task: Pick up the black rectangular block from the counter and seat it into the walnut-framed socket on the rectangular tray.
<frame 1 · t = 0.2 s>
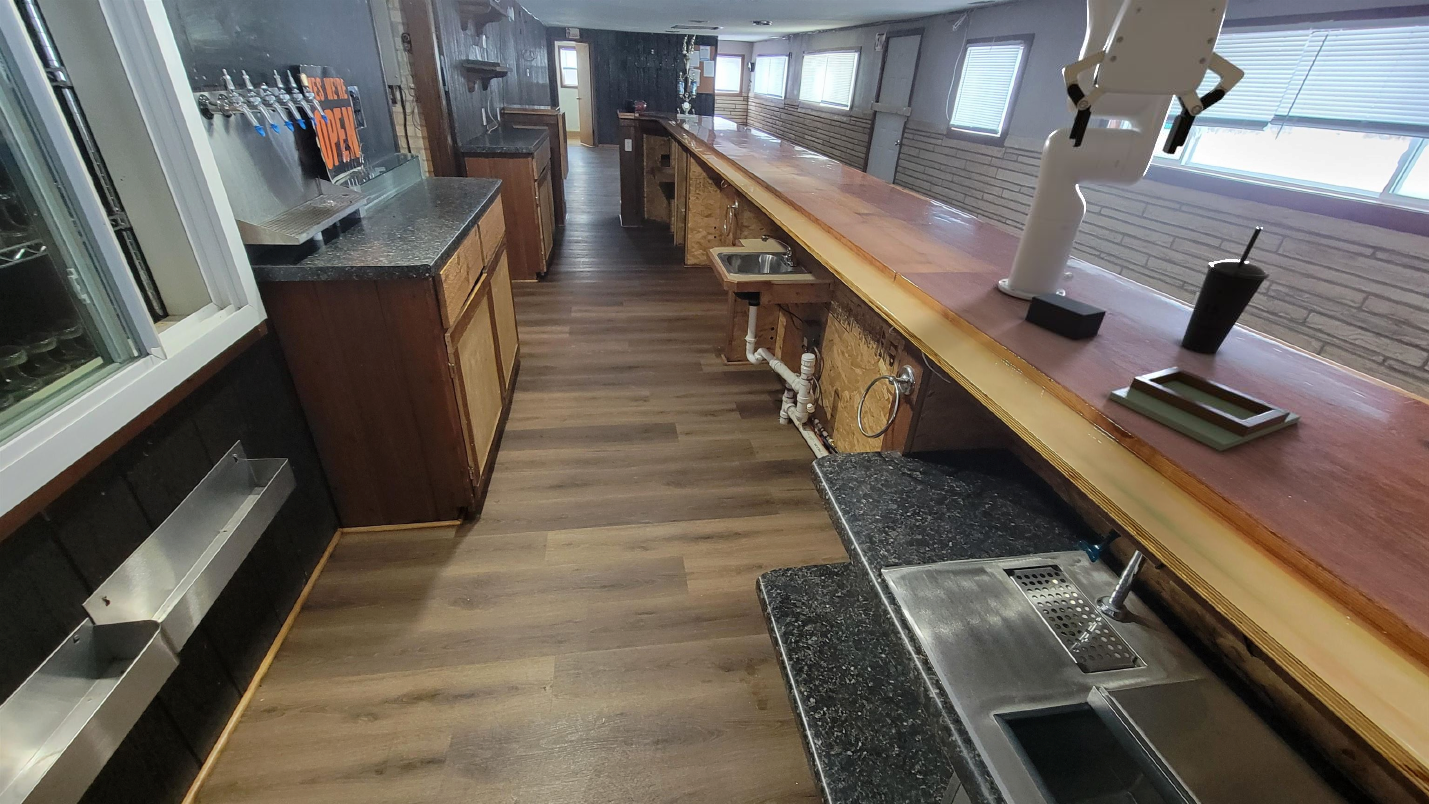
hand: (1120, 149, 68), 31 cm above the counter, tool pointing down, fingers open, 9 cm apart
drinking cup: (1197, 348, 96), on the counter
rectangular tray: (1200, 409, 77), on the counter
black rectangular block: (1059, 327, 102), on the counter
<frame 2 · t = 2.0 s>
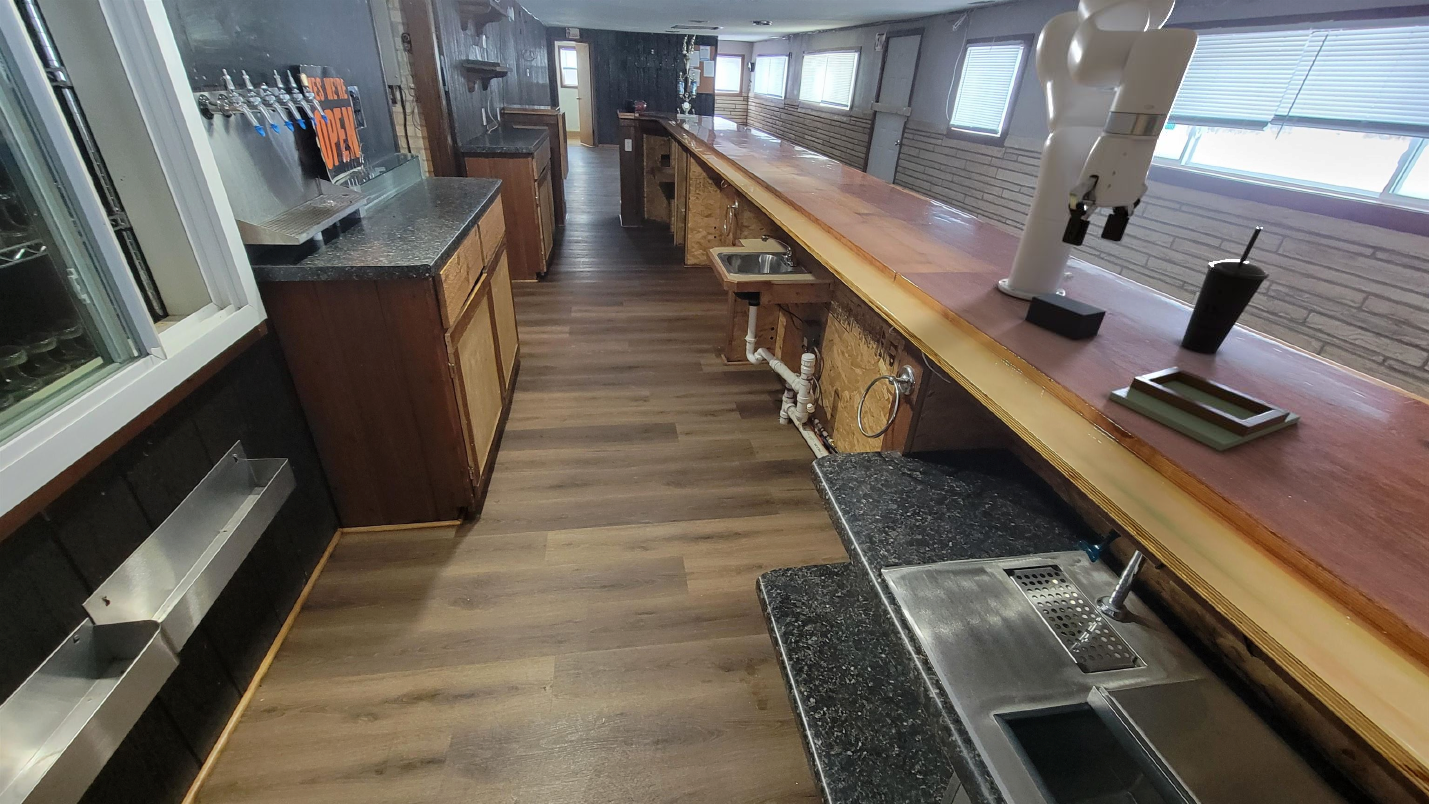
hand: (1091, 242, 93), 16 cm above the counter, tool pointing down, fingers open, 9 cm apart
nothing on the counter moved.
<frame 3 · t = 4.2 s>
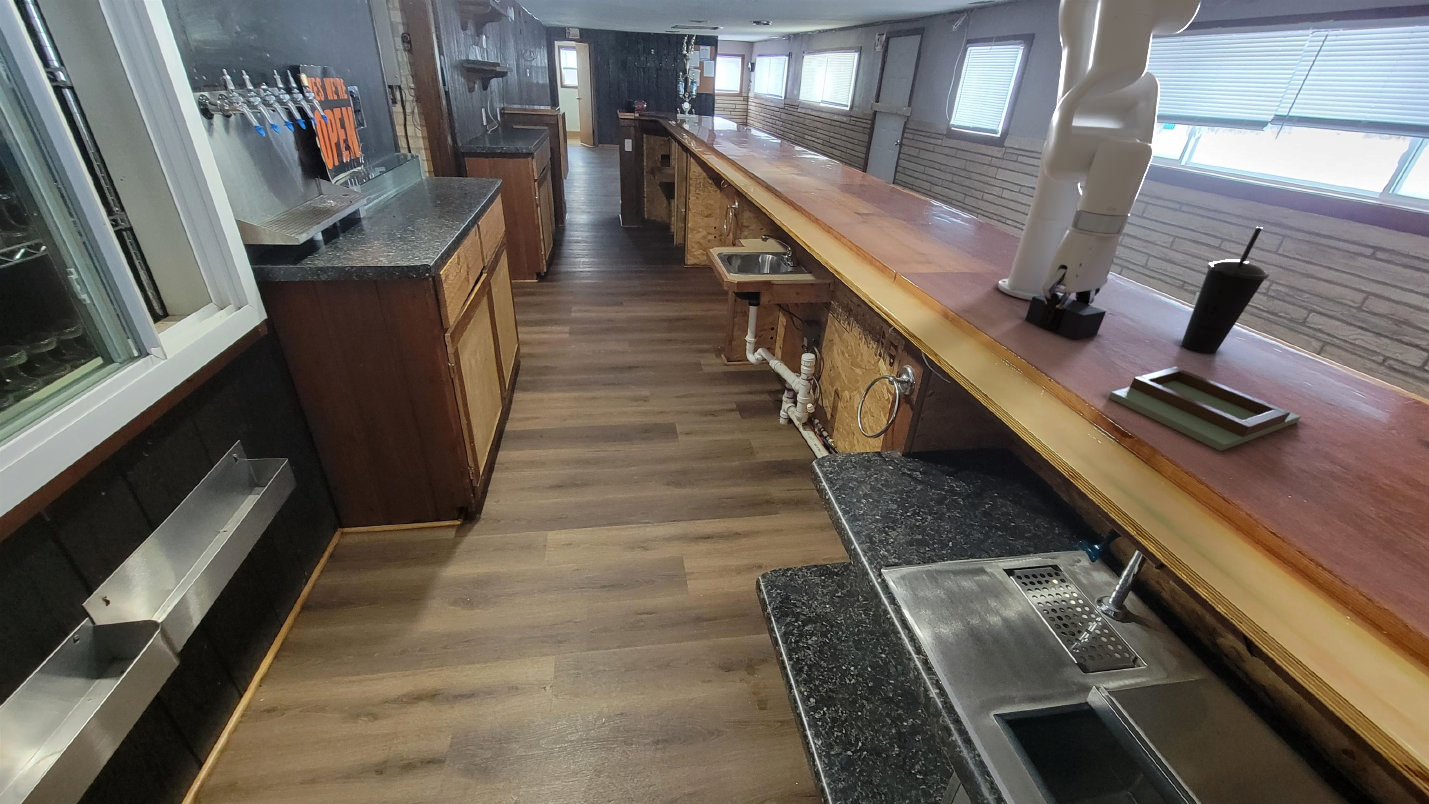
hand: (1061, 324, 101), 1 cm above the counter, tool pointing down, fingers closed on black rectangular block, 6 cm apart
black rectangular block: (1059, 327, 102), on the counter, touching gripper
everything else where it was.
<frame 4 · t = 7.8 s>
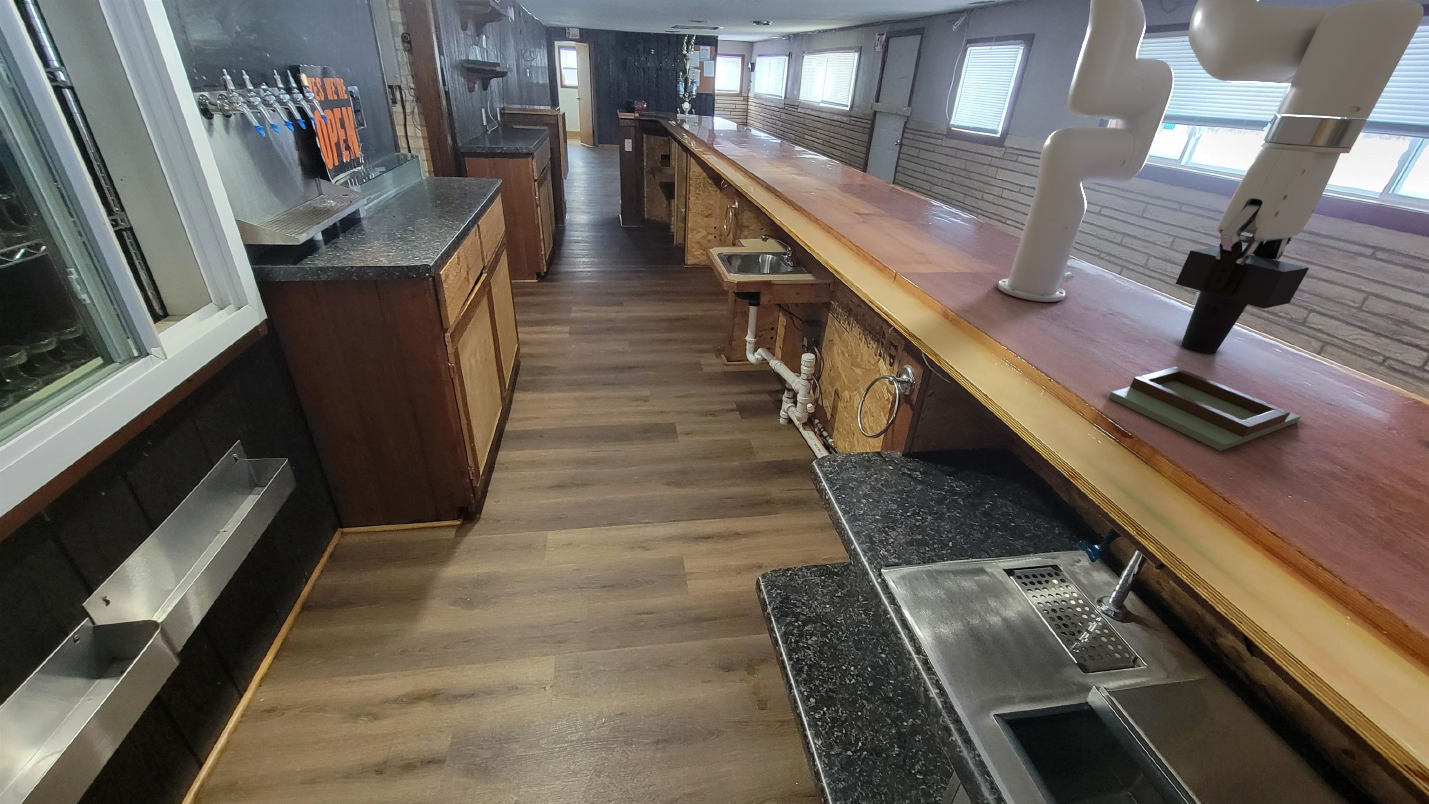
hand: (1232, 289, 72), 16 cm above the counter, tool pointing down, fingers closed on black rectangular block, 6 cm apart
black rectangular block: (1229, 293, 72), point 15 cm above the counter, touching gripper
everything else where it was.
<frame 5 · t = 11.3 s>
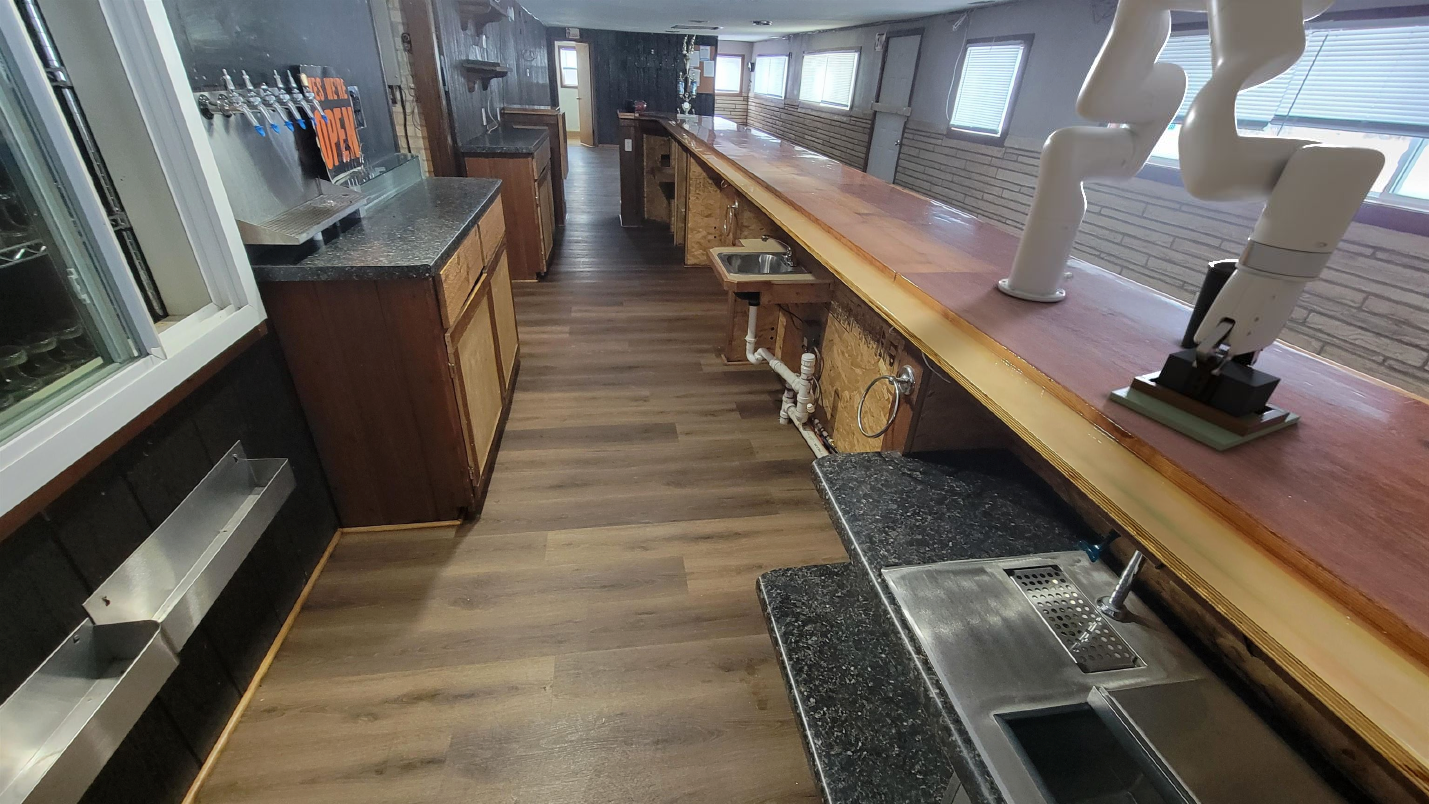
hand: (1208, 392, 75), 3 cm above the counter, tool pointing down, fingers closed on black rectangular block, 6 cm apart
black rectangular block: (1206, 395, 76), point 2 cm above the counter, touching gripper
everything else where it was.
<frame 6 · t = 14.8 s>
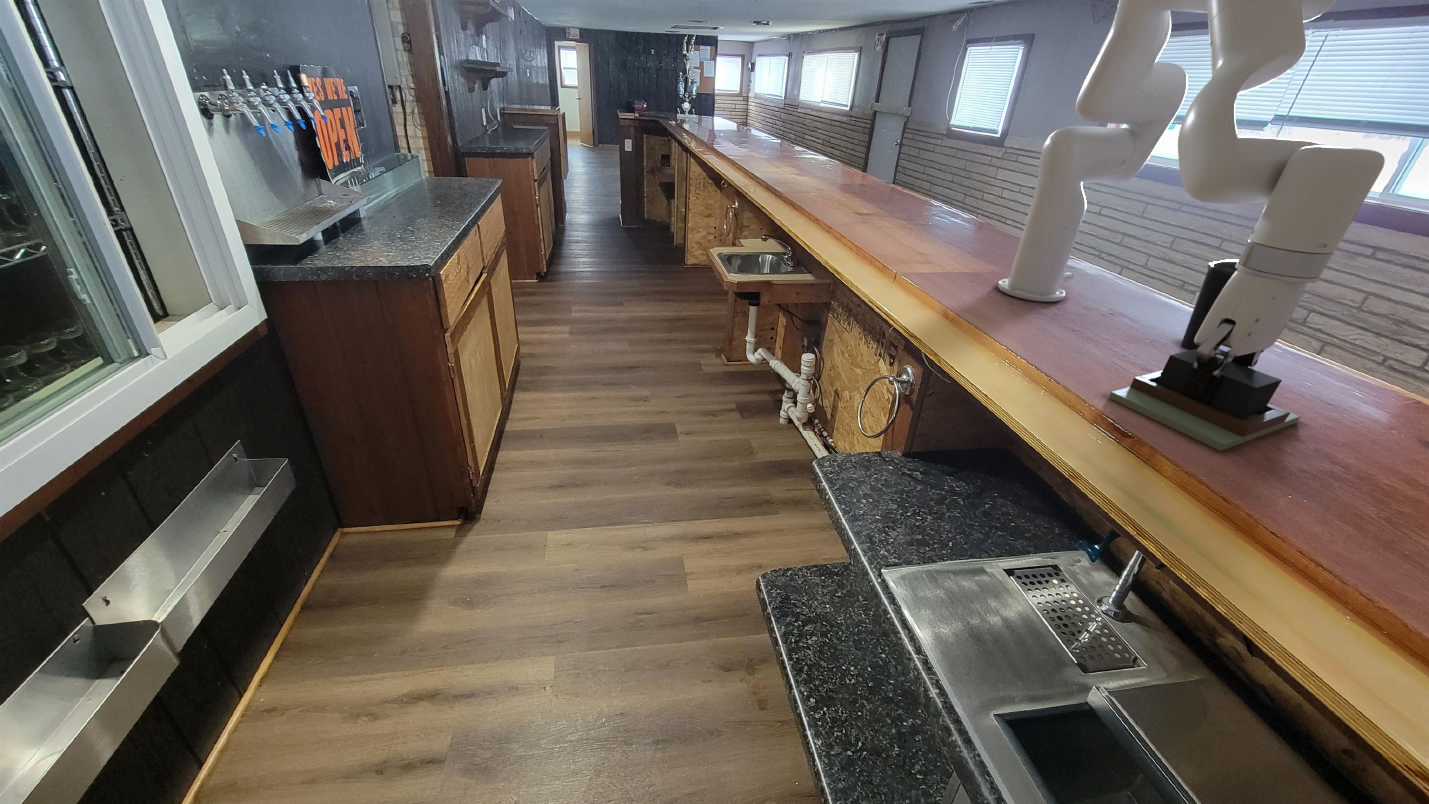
hand: (1209, 393, 75), 3 cm above the counter, tool pointing down, fingers closed on black rectangular block, 6 cm apart
black rectangular block: (1207, 397, 75), point 2 cm above the counter, touching gripper
everything else where it was.
when the fingers open (3 cm above the counter, at t = 17.9 s): black rectangular block drops 2 cm, resting on rectangular tray.
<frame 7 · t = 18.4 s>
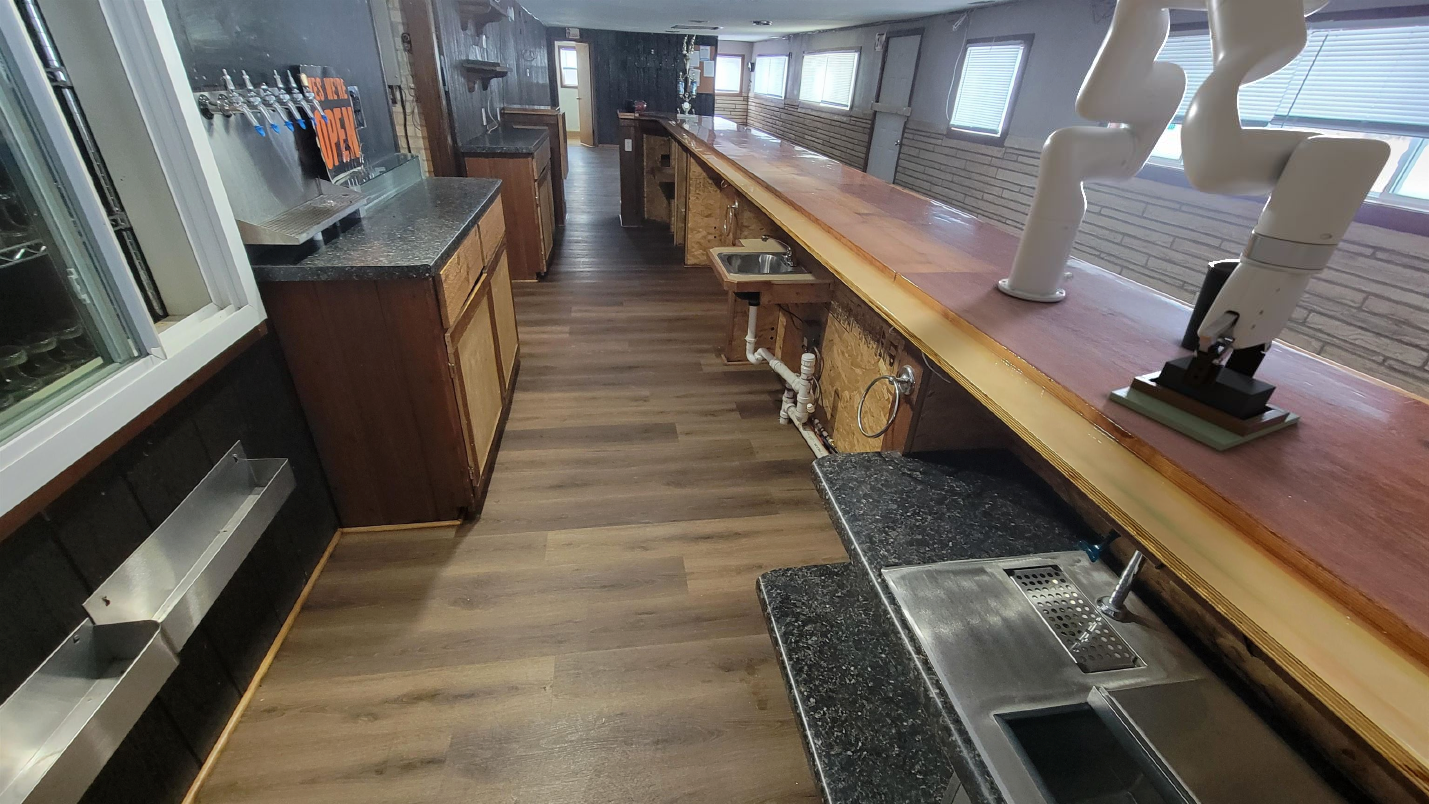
hand: (1215, 382, 74), 4 cm above the counter, tool pointing down, fingers open, 9 cm apart
black rectangular block: (1203, 403, 76), point 1 cm above the counter, touching rectangular tray
everything else where it was.
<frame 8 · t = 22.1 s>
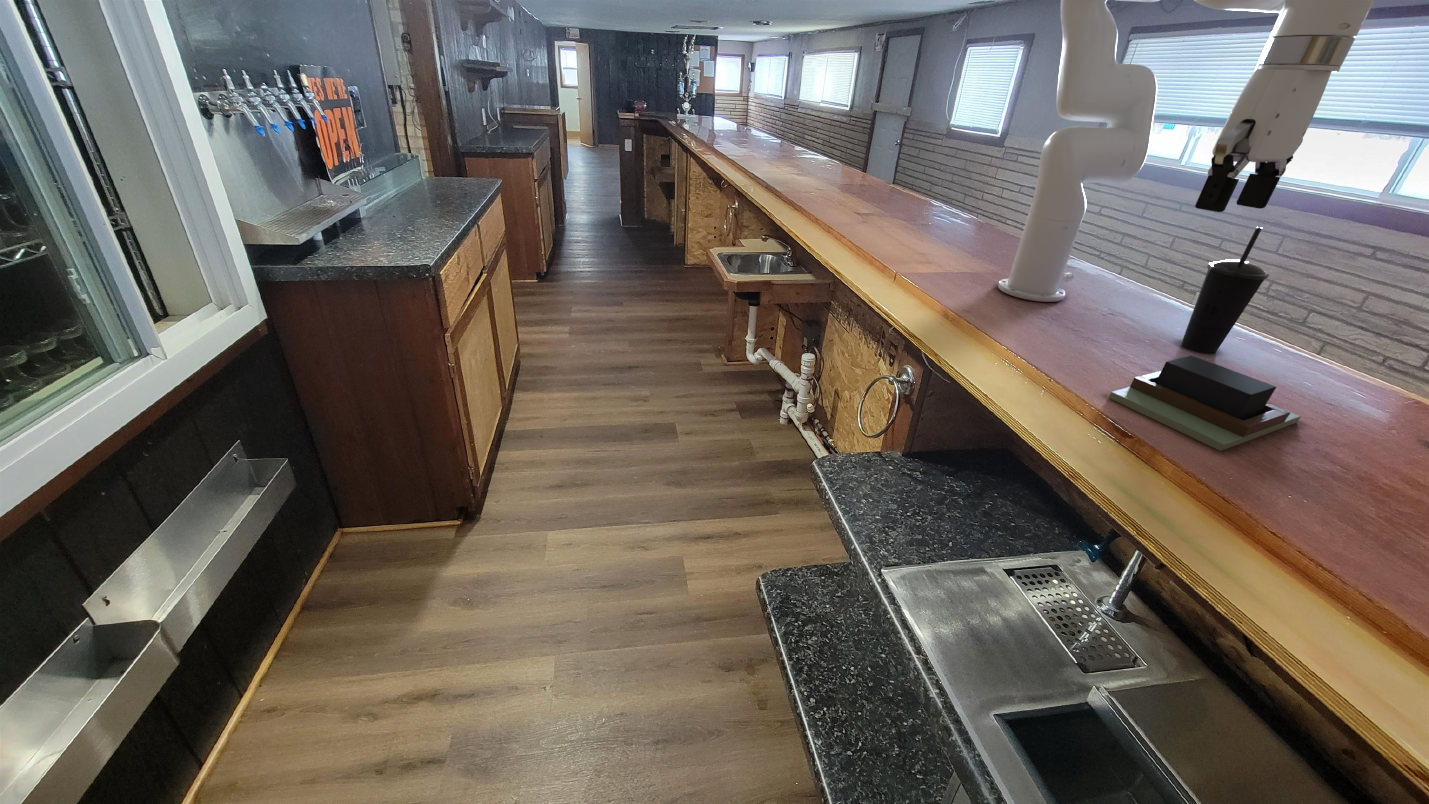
hand: (1229, 208, 75), 24 cm above the counter, tool pointing down, fingers open, 9 cm apart
nothing on the counter moved.
at the end: black rectangular block 0.1 cm off-centre on the rectangular tray, point 1.0 cm above the rectangular tray's base; black rectangular block tilted 0°; the gripper is holding nothing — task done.
